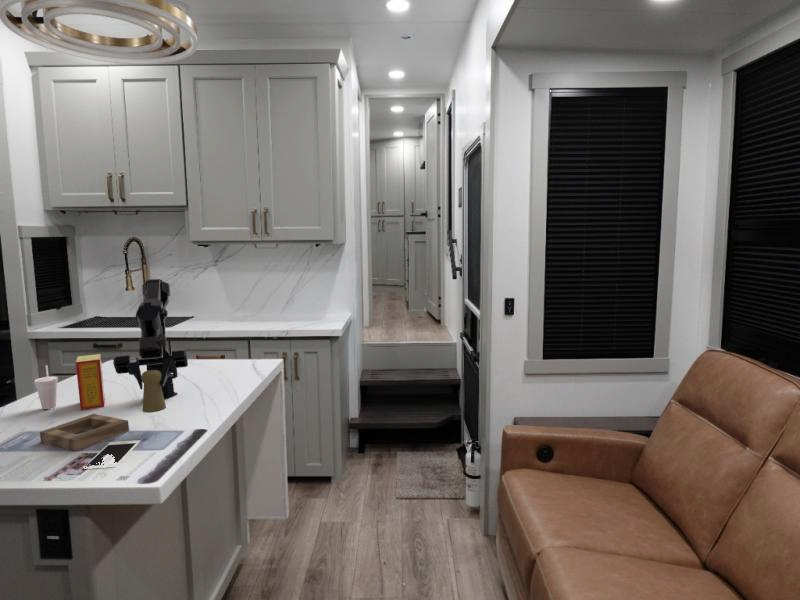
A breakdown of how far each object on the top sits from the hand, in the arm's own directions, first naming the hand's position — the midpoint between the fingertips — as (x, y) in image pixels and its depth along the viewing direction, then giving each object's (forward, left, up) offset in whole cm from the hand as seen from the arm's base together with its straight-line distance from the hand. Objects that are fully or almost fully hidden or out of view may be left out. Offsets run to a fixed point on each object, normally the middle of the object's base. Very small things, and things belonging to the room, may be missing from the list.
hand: (151, 387), depth 143 cm
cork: (-1, +1, -7) cm, 7 cm away
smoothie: (-50, +1, -13) cm, 52 cm away
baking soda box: (-40, +9, -13) cm, 43 cm away
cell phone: (+3, -15, -13) cm, 20 cm away
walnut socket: (-15, -10, -13) cm, 22 cm away
